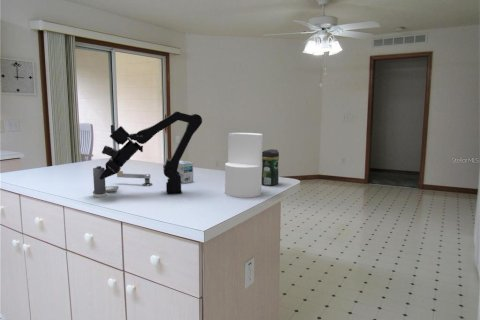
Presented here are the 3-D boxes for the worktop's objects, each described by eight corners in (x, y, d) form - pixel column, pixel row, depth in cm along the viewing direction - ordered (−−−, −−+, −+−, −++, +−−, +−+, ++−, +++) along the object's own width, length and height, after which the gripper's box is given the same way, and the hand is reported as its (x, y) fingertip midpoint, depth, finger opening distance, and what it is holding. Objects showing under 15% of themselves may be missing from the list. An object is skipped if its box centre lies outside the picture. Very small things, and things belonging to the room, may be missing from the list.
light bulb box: (193, 182, 187) (193, 162, 185) (183, 183, 182) (183, 163, 180) (181, 179, 194) (181, 160, 192) (171, 180, 189) (171, 161, 188)
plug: (107, 194, 159) (106, 165, 157) (105, 197, 154) (104, 167, 152) (94, 194, 158) (93, 165, 156) (92, 197, 153) (90, 167, 151)
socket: (118, 187, 172) (118, 185, 172) (115, 192, 162) (115, 190, 162) (97, 188, 170) (97, 186, 170) (93, 193, 160) (92, 191, 160)
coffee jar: (267, 181, 190) (268, 148, 187) (280, 183, 186) (281, 149, 183) (258, 184, 182) (259, 149, 179) (272, 186, 178) (273, 151, 175)
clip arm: (151, 177, 179) (151, 172, 178) (148, 178, 176) (148, 173, 175) (119, 176, 181) (119, 170, 181) (116, 177, 178) (116, 171, 178)
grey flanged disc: (150, 183, 182) (149, 177, 181) (154, 185, 178) (153, 178, 177) (140, 184, 179) (140, 178, 178) (144, 186, 175) (144, 179, 174)
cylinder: (237, 187, 176) (237, 132, 172) (267, 191, 168) (268, 133, 163) (217, 194, 162) (218, 134, 157) (250, 199, 153) (251, 136, 149)
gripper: (115, 137, 163) (91, 161, 162) (110, 141, 145) (83, 168, 144) (133, 154, 166) (109, 177, 165) (130, 159, 148) (104, 186, 147)
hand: (101, 176), depth 155 cm, fingers open, 9 cm apart
